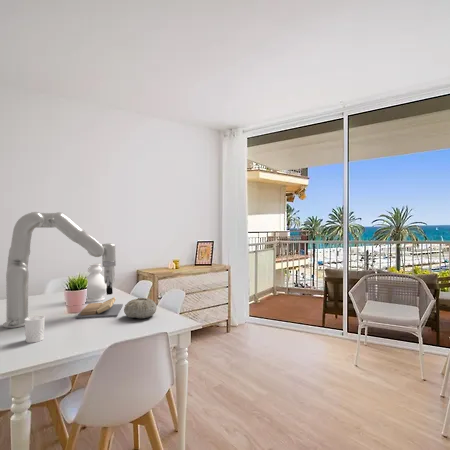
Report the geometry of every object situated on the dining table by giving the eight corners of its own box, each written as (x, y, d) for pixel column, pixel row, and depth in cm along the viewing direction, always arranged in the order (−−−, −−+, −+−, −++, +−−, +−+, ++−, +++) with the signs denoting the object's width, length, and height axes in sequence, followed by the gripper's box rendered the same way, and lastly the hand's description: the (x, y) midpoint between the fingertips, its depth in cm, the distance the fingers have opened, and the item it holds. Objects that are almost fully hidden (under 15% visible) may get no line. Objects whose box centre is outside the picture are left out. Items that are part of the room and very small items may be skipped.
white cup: (48, 337, 147) (48, 315, 147) (38, 343, 140) (39, 320, 140) (30, 337, 147) (31, 315, 147) (20, 343, 139) (20, 320, 139)
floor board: (117, 316, 181) (117, 311, 181) (75, 318, 176) (75, 313, 176) (122, 305, 206) (122, 300, 206) (86, 307, 202) (86, 302, 202)
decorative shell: (145, 323, 169) (145, 304, 169) (117, 319, 175) (117, 301, 175) (162, 314, 186) (162, 296, 186) (136, 311, 192) (136, 294, 192)
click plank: (110, 307, 183) (109, 304, 183) (98, 313, 182) (96, 310, 181) (115, 299, 202) (114, 297, 202) (104, 305, 201) (103, 302, 201)
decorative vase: (92, 303, 211) (92, 266, 211) (75, 300, 220) (75, 264, 220) (114, 298, 226) (114, 263, 226) (97, 295, 235) (97, 261, 235)
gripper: (113, 265, 186) (114, 296, 186) (117, 262, 200) (117, 291, 201) (100, 265, 184) (100, 297, 184) (104, 262, 199) (105, 292, 199)
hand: (109, 294), depth 192 cm, fingers closed
